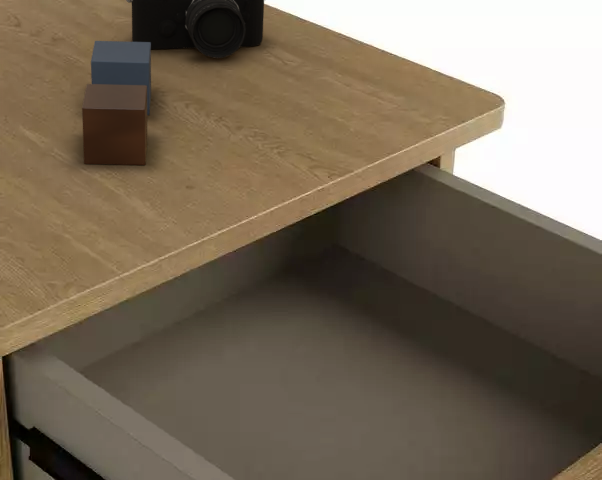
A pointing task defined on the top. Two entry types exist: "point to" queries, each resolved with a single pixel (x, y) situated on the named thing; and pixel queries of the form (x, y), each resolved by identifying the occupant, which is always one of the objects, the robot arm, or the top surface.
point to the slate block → (122, 64)
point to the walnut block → (115, 124)
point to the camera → (198, 24)
